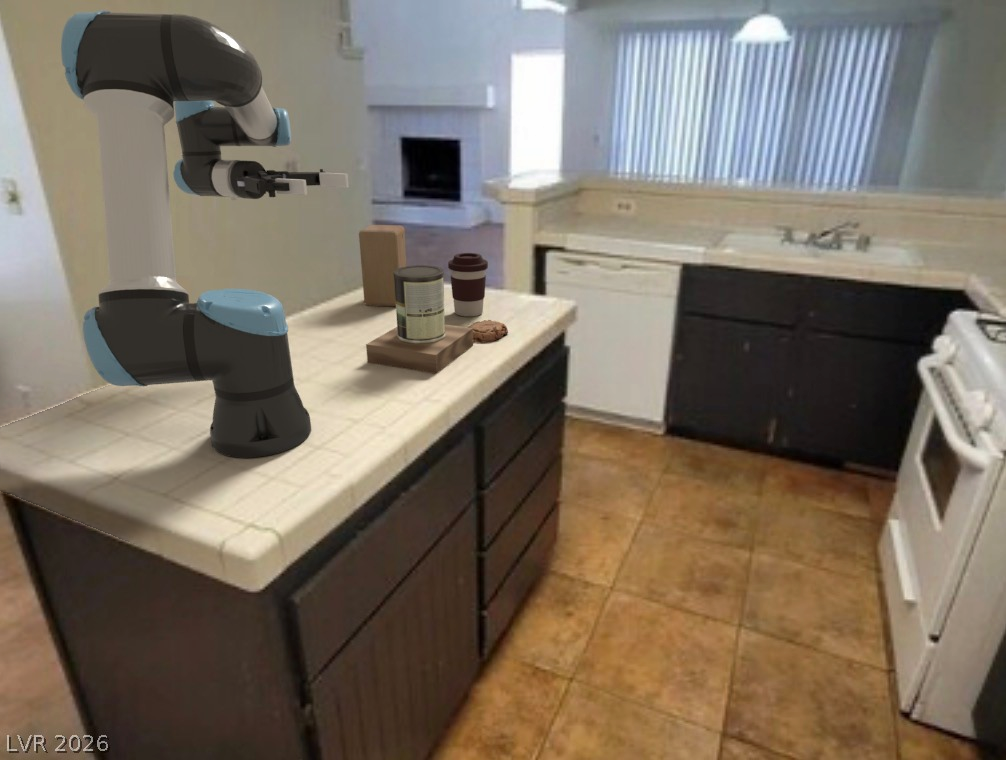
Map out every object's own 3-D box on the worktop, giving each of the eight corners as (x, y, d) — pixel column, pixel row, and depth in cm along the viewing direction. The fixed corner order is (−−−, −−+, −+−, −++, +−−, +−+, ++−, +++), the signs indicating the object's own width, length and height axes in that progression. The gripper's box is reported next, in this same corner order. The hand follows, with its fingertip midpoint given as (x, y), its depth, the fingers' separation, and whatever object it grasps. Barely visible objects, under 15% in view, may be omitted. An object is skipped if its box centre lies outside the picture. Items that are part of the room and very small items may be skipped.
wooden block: (409, 297, 179) (405, 224, 171) (400, 307, 170) (395, 231, 162) (374, 296, 180) (368, 224, 172) (363, 306, 171) (357, 230, 163)
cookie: (466, 343, 145) (466, 331, 144) (465, 329, 155) (464, 317, 154) (510, 343, 146) (510, 330, 145) (506, 328, 156) (506, 316, 154)
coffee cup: (443, 316, 163) (442, 258, 157) (457, 306, 172) (456, 250, 166) (480, 320, 160) (480, 260, 154) (492, 309, 169) (492, 252, 163)
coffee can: (387, 338, 135) (382, 272, 130) (416, 325, 143) (413, 263, 138) (426, 347, 130) (423, 279, 125) (455, 333, 138) (453, 268, 133)
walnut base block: (436, 373, 128) (435, 354, 126) (367, 362, 133) (366, 344, 132) (473, 345, 143) (472, 328, 142) (410, 336, 149) (409, 319, 147)
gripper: (283, 191, 145) (363, 196, 138) (198, 205, 124) (288, 212, 117) (279, 156, 142) (361, 159, 135) (191, 164, 121) (282, 168, 114)
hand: (327, 184), depth 126 cm, fingers open, 13 cm apart
